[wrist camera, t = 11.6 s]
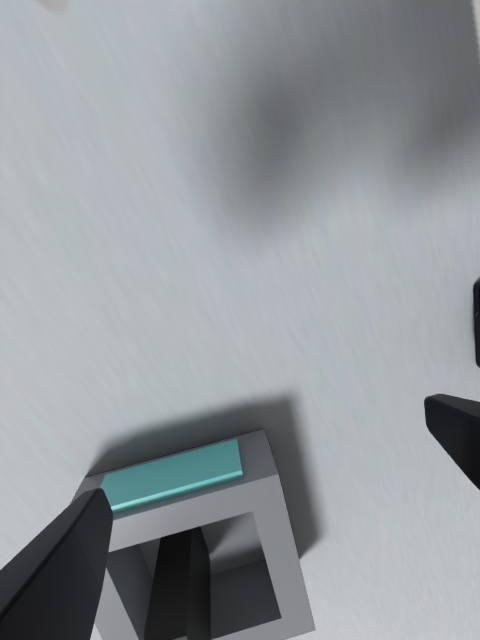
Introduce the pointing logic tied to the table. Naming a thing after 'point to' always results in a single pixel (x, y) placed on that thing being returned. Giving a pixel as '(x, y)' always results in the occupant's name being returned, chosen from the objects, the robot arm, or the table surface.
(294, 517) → the table surface
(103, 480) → the grey square open box
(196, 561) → the ink cartridge
